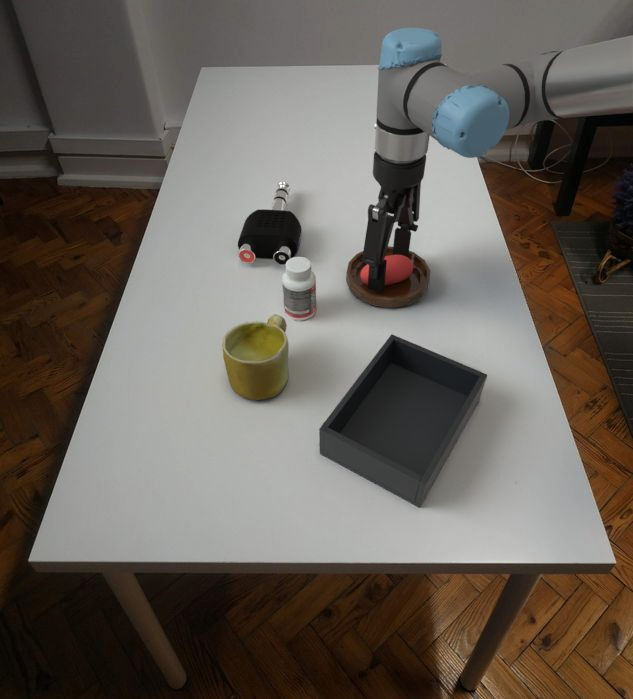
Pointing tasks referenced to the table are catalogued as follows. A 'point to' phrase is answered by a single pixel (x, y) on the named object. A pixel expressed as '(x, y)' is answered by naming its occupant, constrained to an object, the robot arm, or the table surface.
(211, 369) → the table surface
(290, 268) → the pill bottle
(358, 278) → the plate
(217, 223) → the table surface
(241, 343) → the mug
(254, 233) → the audio adapter
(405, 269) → the stress ball
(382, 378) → the bin
